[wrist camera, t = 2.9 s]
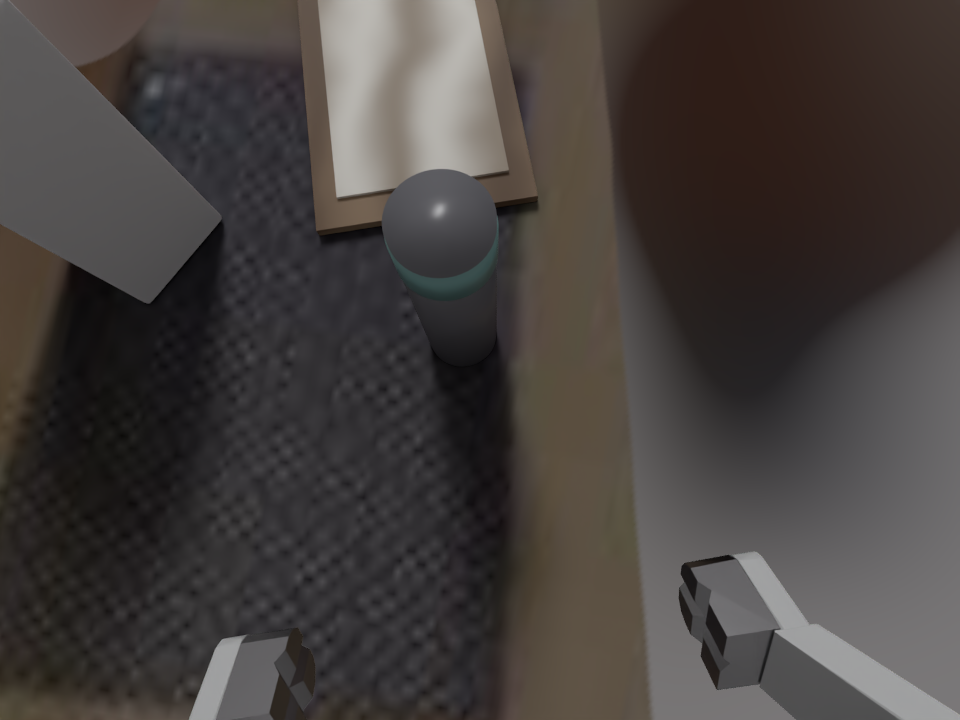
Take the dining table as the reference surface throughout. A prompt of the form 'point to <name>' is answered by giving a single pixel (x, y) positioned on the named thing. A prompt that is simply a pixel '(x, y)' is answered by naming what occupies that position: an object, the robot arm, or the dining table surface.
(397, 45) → the clipboard
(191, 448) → the dining table surface
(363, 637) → the dining table surface
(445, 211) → the microphone
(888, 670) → the robot arm
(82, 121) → the milk carton
